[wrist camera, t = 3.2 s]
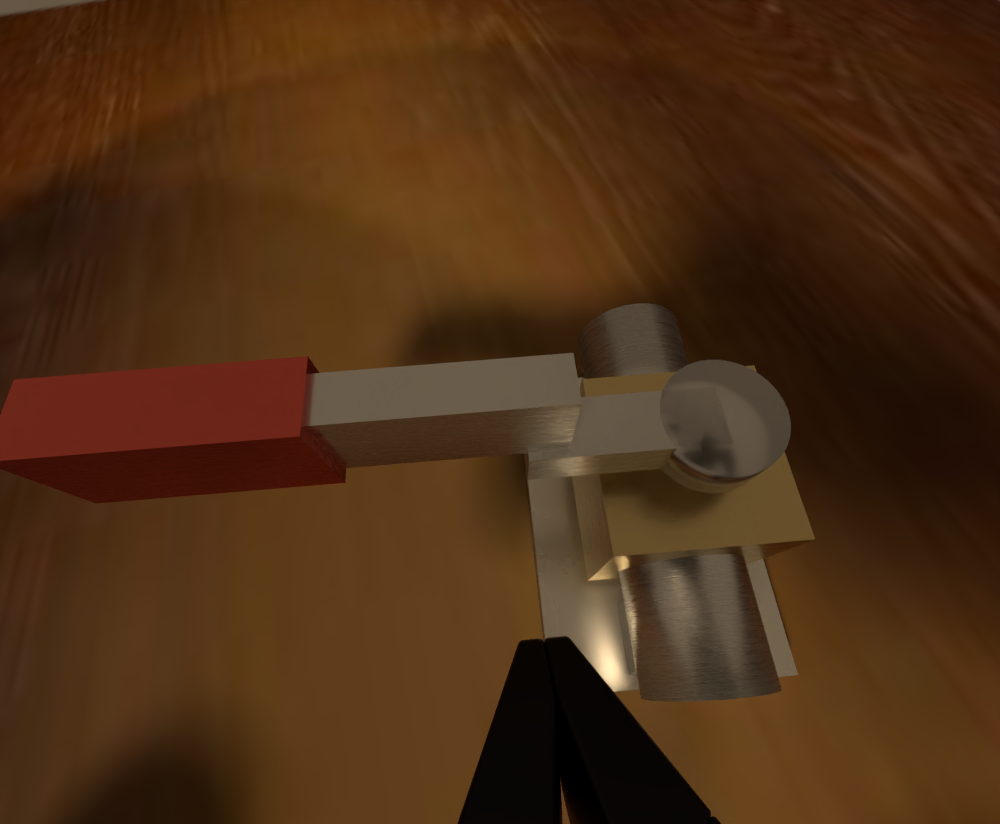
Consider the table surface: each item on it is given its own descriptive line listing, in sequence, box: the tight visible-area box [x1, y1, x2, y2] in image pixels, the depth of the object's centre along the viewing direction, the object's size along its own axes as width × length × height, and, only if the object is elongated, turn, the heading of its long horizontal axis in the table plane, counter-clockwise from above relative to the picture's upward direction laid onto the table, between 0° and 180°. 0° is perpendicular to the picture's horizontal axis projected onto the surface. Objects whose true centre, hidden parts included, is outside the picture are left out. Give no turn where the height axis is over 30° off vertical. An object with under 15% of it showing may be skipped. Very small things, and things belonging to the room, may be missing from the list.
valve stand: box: [523, 303, 815, 701], centre depth 18 cm, size 13×9×9 cm
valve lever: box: [0, 353, 791, 503], centre depth 12 cm, size 3×17×4 cm, turn 95°
